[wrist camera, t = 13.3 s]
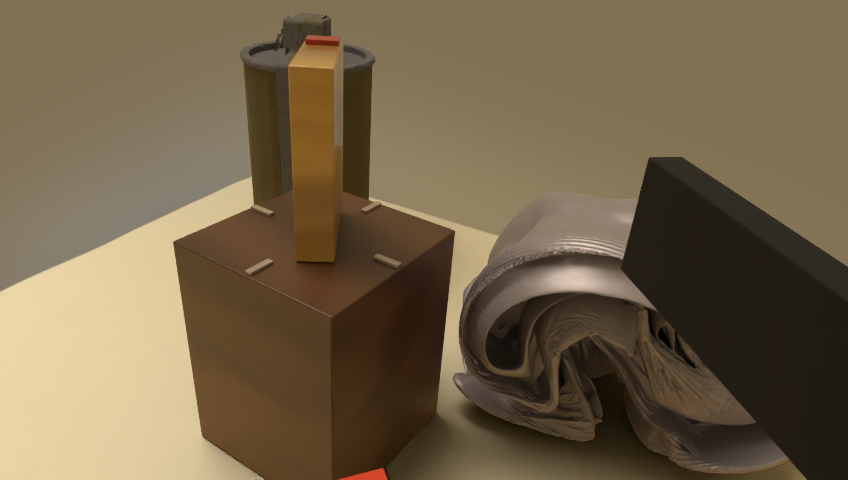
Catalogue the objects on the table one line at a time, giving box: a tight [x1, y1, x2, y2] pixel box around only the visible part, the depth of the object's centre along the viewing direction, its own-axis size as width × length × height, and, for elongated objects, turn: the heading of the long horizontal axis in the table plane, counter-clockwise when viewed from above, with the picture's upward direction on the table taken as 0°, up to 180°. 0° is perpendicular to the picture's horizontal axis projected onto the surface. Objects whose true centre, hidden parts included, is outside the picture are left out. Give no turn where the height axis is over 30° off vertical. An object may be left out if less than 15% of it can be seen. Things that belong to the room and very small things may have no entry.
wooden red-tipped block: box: [288, 35, 343, 262], centre depth 28 cm, size 6×2×9 cm, turn 3°
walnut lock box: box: [173, 190, 455, 480], centre depth 34 cm, size 10×10×13 cm
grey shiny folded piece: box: [453, 192, 789, 473], centre depth 36 cm, size 20×18×15 cm
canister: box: [240, 13, 375, 205], centre depth 51 cm, size 11×10×20 cm
